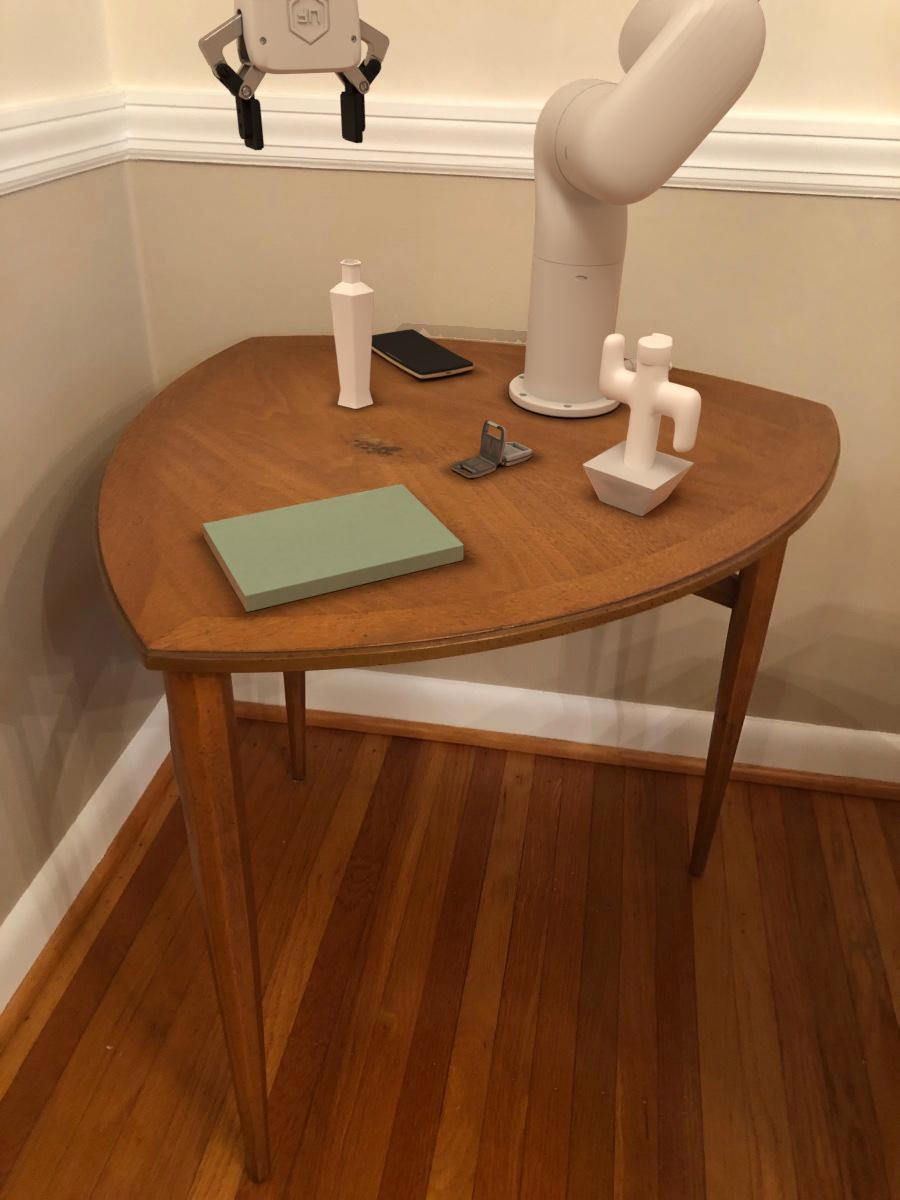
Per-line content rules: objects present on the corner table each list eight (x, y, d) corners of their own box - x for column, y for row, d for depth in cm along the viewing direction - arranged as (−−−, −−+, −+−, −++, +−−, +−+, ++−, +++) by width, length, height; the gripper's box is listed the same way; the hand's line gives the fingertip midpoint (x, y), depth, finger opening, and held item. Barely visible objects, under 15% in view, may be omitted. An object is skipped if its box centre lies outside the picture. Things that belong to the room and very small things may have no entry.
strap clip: (514, 448, 95) (516, 408, 92) (534, 458, 93) (538, 417, 91) (448, 470, 90) (450, 428, 88) (469, 481, 88) (471, 438, 86)
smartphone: (421, 373, 108) (361, 336, 119) (421, 383, 109) (361, 345, 119) (475, 363, 112) (412, 328, 122) (475, 372, 112) (412, 336, 123)
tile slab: (402, 498, 85) (402, 483, 84) (463, 560, 76) (464, 544, 75) (204, 538, 78) (202, 523, 77) (246, 612, 69) (244, 595, 68)
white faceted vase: (370, 411, 102) (367, 269, 93) (331, 407, 102) (324, 265, 94) (381, 396, 105) (379, 258, 97) (343, 392, 106) (338, 255, 98)
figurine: (659, 532, 81) (688, 362, 73) (567, 497, 86) (585, 335, 78) (698, 503, 86) (729, 340, 77) (609, 472, 91) (630, 316, 82)
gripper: (199, -94, 70) (227, 157, 80) (404, -85, 78) (407, 144, 87) (170, -89, 76) (199, 145, 85) (364, -81, 83) (371, 133, 92)
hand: (304, 144), depth 86 cm, fingers open, 9 cm apart
